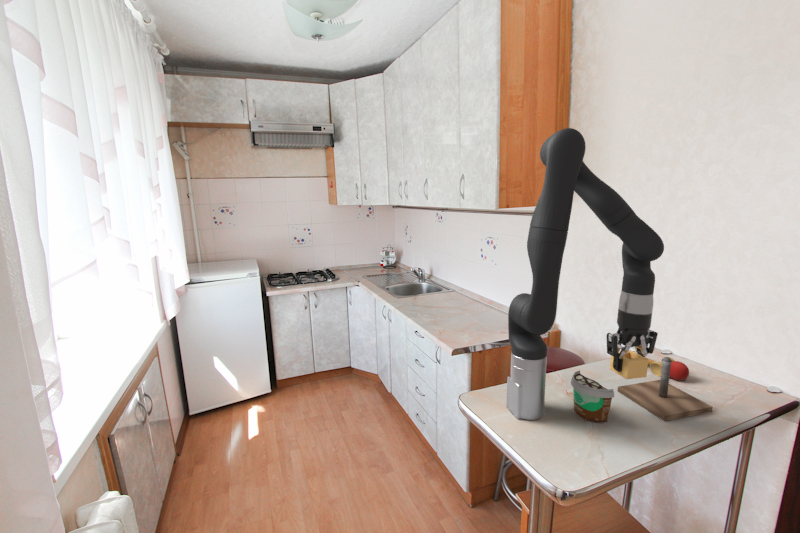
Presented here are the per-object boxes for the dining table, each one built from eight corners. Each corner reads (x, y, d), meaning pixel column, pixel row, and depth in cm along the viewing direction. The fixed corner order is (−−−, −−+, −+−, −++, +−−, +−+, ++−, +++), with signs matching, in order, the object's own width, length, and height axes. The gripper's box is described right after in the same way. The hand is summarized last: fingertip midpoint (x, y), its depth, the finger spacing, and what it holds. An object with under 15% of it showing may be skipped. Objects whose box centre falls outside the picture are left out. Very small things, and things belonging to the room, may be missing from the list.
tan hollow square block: (626, 379, 99) (628, 361, 98) (609, 369, 105) (611, 352, 104) (646, 376, 100) (648, 359, 99) (628, 367, 106) (630, 350, 105)
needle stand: (664, 421, 101) (669, 373, 98) (617, 391, 116) (621, 349, 114) (712, 411, 104) (718, 365, 102) (660, 383, 120) (665, 343, 117)
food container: (559, 405, 109) (561, 373, 107) (576, 401, 111) (578, 369, 109) (593, 430, 98) (596, 394, 96) (611, 425, 100) (615, 389, 98)
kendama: (623, 367, 134) (679, 383, 118) (625, 349, 134) (680, 363, 118) (638, 367, 137) (693, 382, 121) (639, 349, 138) (695, 362, 121)
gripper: (622, 315, 94) (615, 378, 97) (671, 311, 97) (662, 372, 100) (600, 306, 101) (594, 365, 104) (646, 303, 104) (639, 360, 107)
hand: (628, 369), depth 102 cm, fingers closed on tan hollow square block, 6 cm apart
